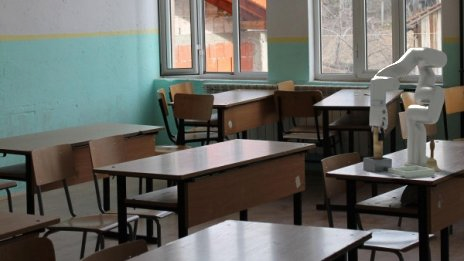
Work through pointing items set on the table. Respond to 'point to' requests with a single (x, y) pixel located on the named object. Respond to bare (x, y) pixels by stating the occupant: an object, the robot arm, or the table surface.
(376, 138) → the dowel
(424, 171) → the tray
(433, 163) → the hand bell
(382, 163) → the grey socket block
